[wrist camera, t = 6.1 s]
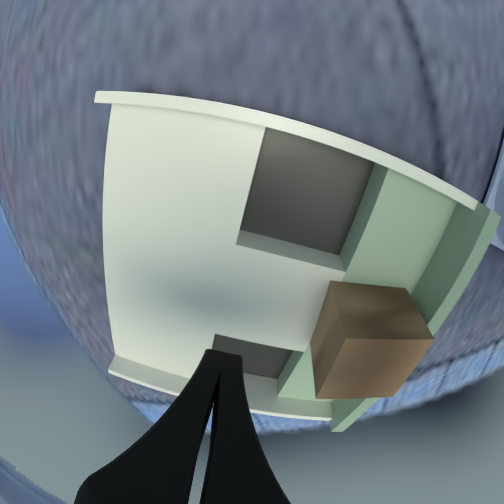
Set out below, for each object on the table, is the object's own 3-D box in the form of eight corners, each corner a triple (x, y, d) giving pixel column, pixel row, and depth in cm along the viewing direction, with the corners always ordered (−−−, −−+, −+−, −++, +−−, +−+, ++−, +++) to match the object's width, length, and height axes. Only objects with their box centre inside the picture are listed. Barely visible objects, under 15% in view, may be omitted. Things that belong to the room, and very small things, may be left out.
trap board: (453, 187, 12) (501, 216, 8) (336, 387, 21) (342, 431, 17) (134, 92, 11) (81, 91, 7) (125, 340, 20) (103, 382, 16)
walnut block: (405, 287, 13) (434, 339, 10) (377, 345, 15) (393, 396, 12) (330, 280, 13) (345, 338, 10) (309, 342, 15) (315, 398, 12)
